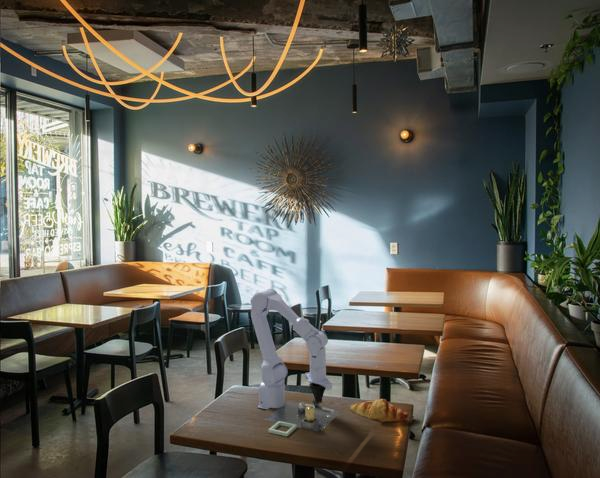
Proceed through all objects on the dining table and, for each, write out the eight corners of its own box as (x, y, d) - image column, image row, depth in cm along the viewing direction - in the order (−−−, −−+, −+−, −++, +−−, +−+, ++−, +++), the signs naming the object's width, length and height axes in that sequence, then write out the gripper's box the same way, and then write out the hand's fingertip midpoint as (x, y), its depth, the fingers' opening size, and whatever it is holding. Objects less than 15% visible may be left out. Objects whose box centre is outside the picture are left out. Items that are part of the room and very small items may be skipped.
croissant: (348, 424, 178) (344, 409, 174) (355, 402, 186) (351, 387, 182) (406, 433, 169) (403, 418, 165) (412, 410, 177) (409, 394, 173)
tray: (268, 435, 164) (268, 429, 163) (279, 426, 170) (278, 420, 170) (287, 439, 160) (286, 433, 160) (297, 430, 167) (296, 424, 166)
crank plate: (263, 422, 173) (263, 414, 173) (288, 403, 189) (288, 396, 189) (320, 434, 163) (320, 426, 163) (341, 413, 179) (341, 406, 179)
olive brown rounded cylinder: (303, 426, 167) (303, 408, 167) (307, 422, 170) (307, 405, 170) (312, 427, 166) (312, 410, 166) (315, 424, 169) (315, 407, 168)
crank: (296, 411, 179) (296, 398, 179) (300, 408, 182) (300, 396, 181) (331, 419, 172) (330, 406, 172) (334, 416, 175) (334, 403, 174)
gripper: (297, 363, 181) (298, 399, 182) (320, 374, 169) (321, 412, 170) (313, 359, 185) (314, 394, 186) (336, 370, 173) (337, 407, 174)
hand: (318, 403), depth 178 cm, fingers closed, pressing on crank
